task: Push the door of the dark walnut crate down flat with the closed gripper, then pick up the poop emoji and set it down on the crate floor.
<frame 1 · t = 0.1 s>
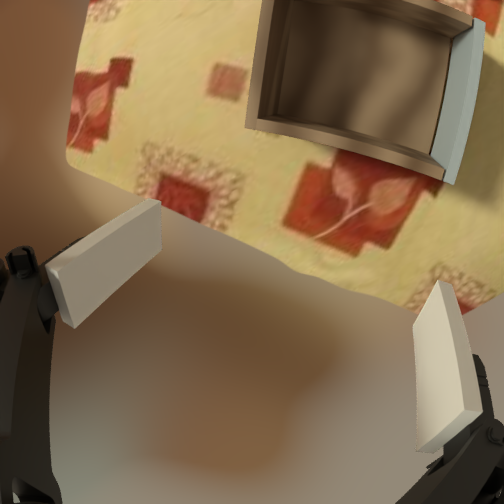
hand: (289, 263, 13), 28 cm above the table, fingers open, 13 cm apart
door: (458, 98, 24), point 5 cm above the table, hinge at 0.0°
crate: (450, 99, 28), on the table
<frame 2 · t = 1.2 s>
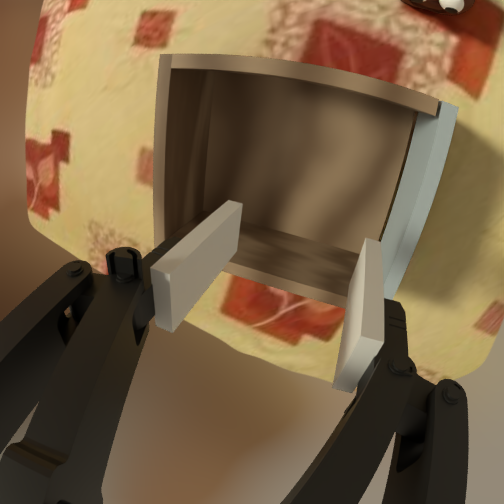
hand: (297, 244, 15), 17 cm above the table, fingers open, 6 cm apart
door: (409, 205, 23), point 5 cm above the table, hinge at 0.0°
crate: (407, 190, 27), on the table
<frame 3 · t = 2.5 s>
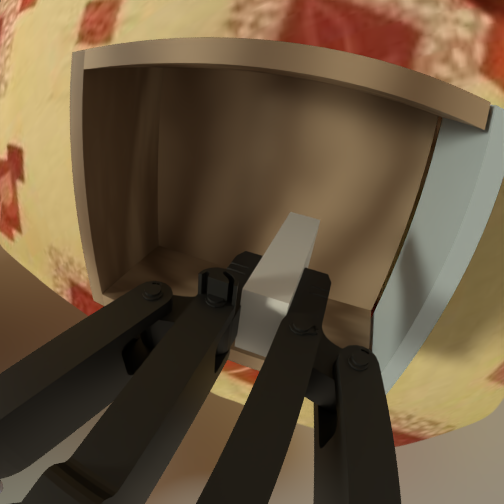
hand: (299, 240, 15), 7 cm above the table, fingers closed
door: (427, 256, 16), point 5 cm above the table, hinge at 0.0°
crate: (423, 225, 20), on the table
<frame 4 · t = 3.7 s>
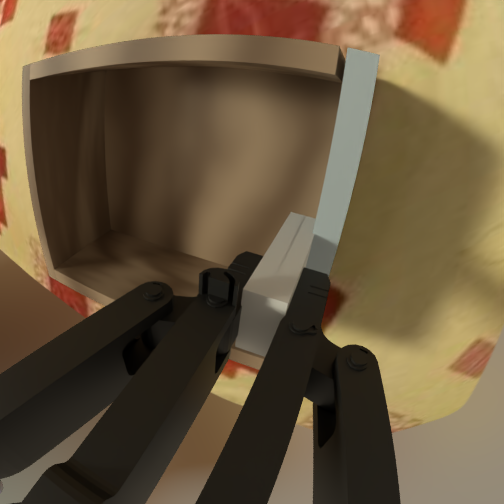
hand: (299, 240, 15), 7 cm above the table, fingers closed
door: (329, 224, 17), point 5 cm above the table, hinge at 0.1°, touching gripper
crate: (345, 198, 21), on the table
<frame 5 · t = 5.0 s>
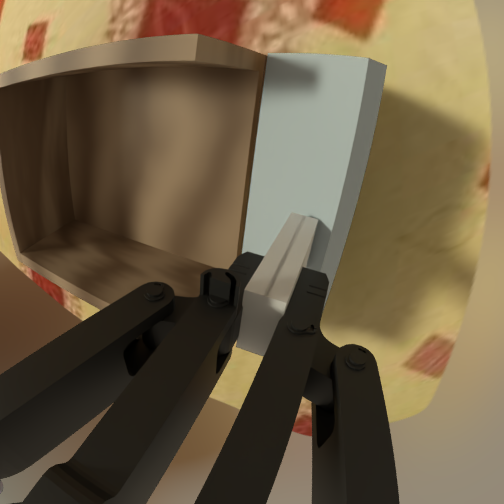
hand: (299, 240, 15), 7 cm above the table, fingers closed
door: (290, 213, 18), point 4 cm above the table, hinge at 47.5°, touching gripper
crate: (269, 183, 22), on the table
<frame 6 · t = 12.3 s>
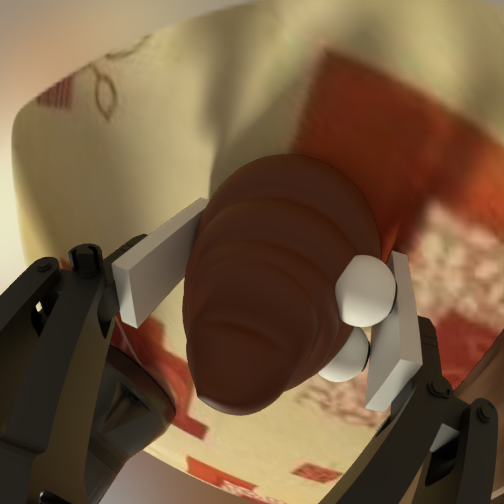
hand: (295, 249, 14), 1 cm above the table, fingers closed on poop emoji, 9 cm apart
poop emoji: (295, 251, 15), on the table, touching gripper
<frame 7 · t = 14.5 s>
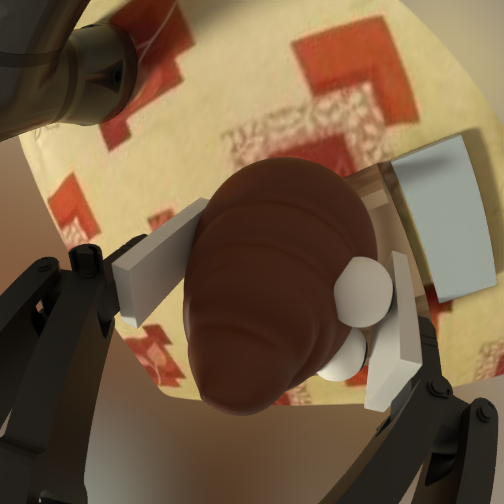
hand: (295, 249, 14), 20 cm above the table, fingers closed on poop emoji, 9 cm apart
door: (453, 226, 27), point 2 cm above the table, hinge at 86.6°
poop emoji: (293, 253, 15), point 19 cm above the table, touching gripper
crate: (418, 231, 31), on the table
when the fingers open (3 cm above the table, at t = 18.9 s): poop emoji drops 1 cm, resting on crate.
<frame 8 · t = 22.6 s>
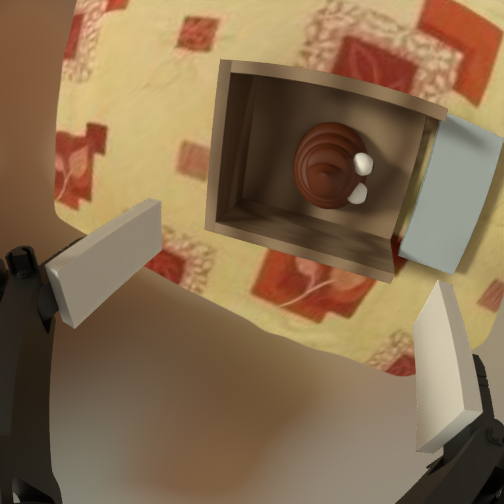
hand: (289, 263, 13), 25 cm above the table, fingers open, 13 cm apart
door: (452, 197, 29), point 2 cm above the table, hinge at 86.6°
poop emoji: (333, 164, 33), point 1 cm above the table, touching crate
crate: (419, 182, 31), on the table
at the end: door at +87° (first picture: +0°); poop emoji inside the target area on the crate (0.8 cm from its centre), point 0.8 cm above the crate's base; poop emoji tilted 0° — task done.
